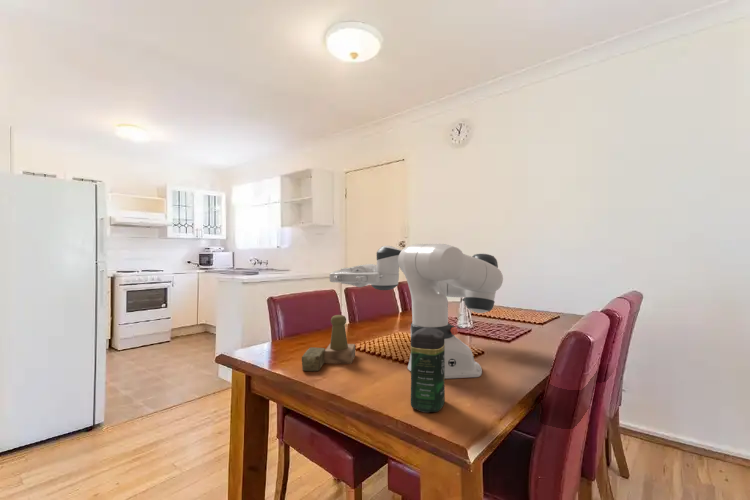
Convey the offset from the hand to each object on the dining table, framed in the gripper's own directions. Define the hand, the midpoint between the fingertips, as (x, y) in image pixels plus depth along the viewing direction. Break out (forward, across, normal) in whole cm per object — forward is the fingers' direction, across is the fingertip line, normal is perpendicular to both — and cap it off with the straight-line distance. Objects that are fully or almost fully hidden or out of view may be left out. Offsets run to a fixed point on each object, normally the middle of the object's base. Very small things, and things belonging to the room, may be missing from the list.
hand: (346, 279), depth 140 cm
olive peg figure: (+13, -3, -22) cm, 26 cm away
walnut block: (+13, -3, -26) cm, 29 cm away
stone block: (+22, +2, -26) cm, 34 cm away
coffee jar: (+38, -40, -26) cm, 61 cm away
